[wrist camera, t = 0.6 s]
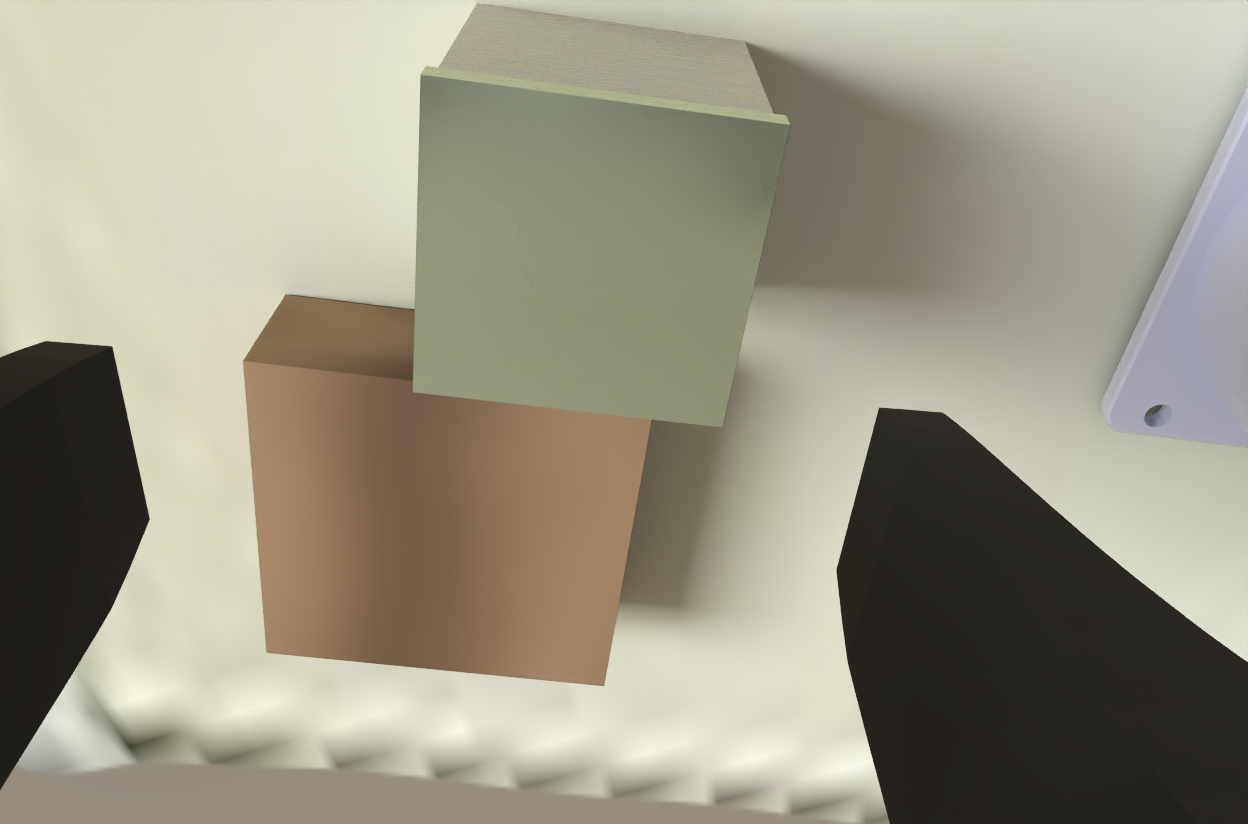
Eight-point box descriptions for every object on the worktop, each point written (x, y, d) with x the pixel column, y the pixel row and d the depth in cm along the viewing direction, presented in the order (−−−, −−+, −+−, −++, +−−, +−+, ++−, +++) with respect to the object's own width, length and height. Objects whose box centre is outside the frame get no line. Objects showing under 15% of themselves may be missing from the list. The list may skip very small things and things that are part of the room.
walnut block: (651, 339, 20) (653, 409, 18) (606, 602, 24) (604, 686, 21) (285, 294, 19) (243, 360, 17) (299, 570, 23) (266, 652, 21)
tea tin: (751, 35, 17) (790, 125, 13) (702, 286, 19) (722, 427, 15) (471, -5, 16) (420, 74, 12) (458, 255, 19) (412, 392, 15)
